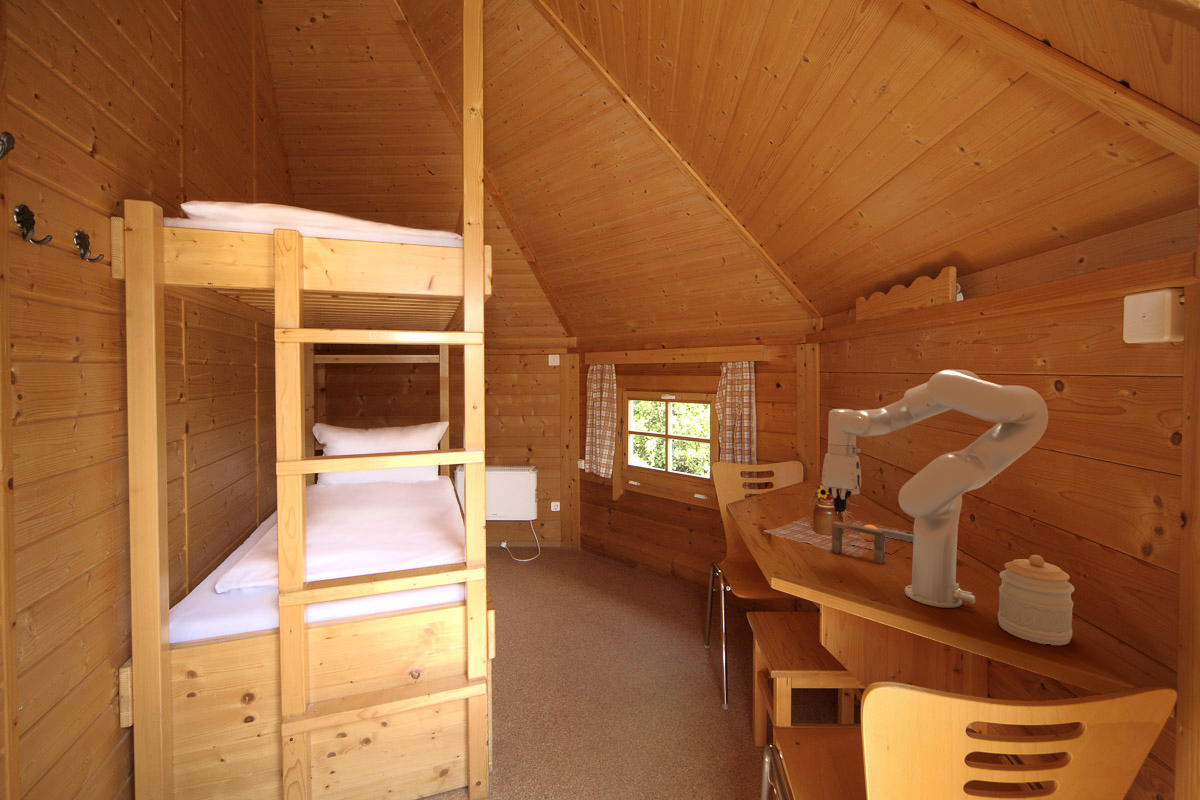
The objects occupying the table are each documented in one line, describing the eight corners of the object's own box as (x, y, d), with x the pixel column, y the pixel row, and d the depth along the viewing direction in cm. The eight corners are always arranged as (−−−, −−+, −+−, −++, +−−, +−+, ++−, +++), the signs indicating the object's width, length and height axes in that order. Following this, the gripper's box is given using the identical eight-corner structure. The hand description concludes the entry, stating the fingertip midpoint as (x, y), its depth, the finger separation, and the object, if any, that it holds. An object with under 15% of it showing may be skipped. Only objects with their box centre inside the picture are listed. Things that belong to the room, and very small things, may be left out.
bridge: (835, 550, 175) (836, 521, 175) (884, 562, 164) (885, 531, 163) (831, 552, 173) (832, 522, 172) (880, 564, 162) (881, 533, 161)
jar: (996, 614, 128) (999, 542, 127) (1067, 629, 120) (1071, 553, 120) (998, 635, 117) (1001, 557, 117) (1076, 653, 110) (1080, 569, 109)
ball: (883, 535, 184) (880, 523, 182) (877, 548, 182) (874, 536, 179) (866, 530, 189) (862, 519, 186) (859, 543, 186) (856, 532, 183)
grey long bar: (917, 542, 183) (917, 535, 183) (915, 544, 182) (915, 536, 182) (869, 532, 195) (869, 525, 195) (866, 533, 194) (867, 526, 194)
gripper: (872, 452, 154) (871, 514, 155) (822, 446, 165) (821, 504, 166) (862, 454, 149) (860, 518, 150) (811, 448, 160) (809, 508, 161)
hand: (839, 511), depth 158 cm, fingers closed
